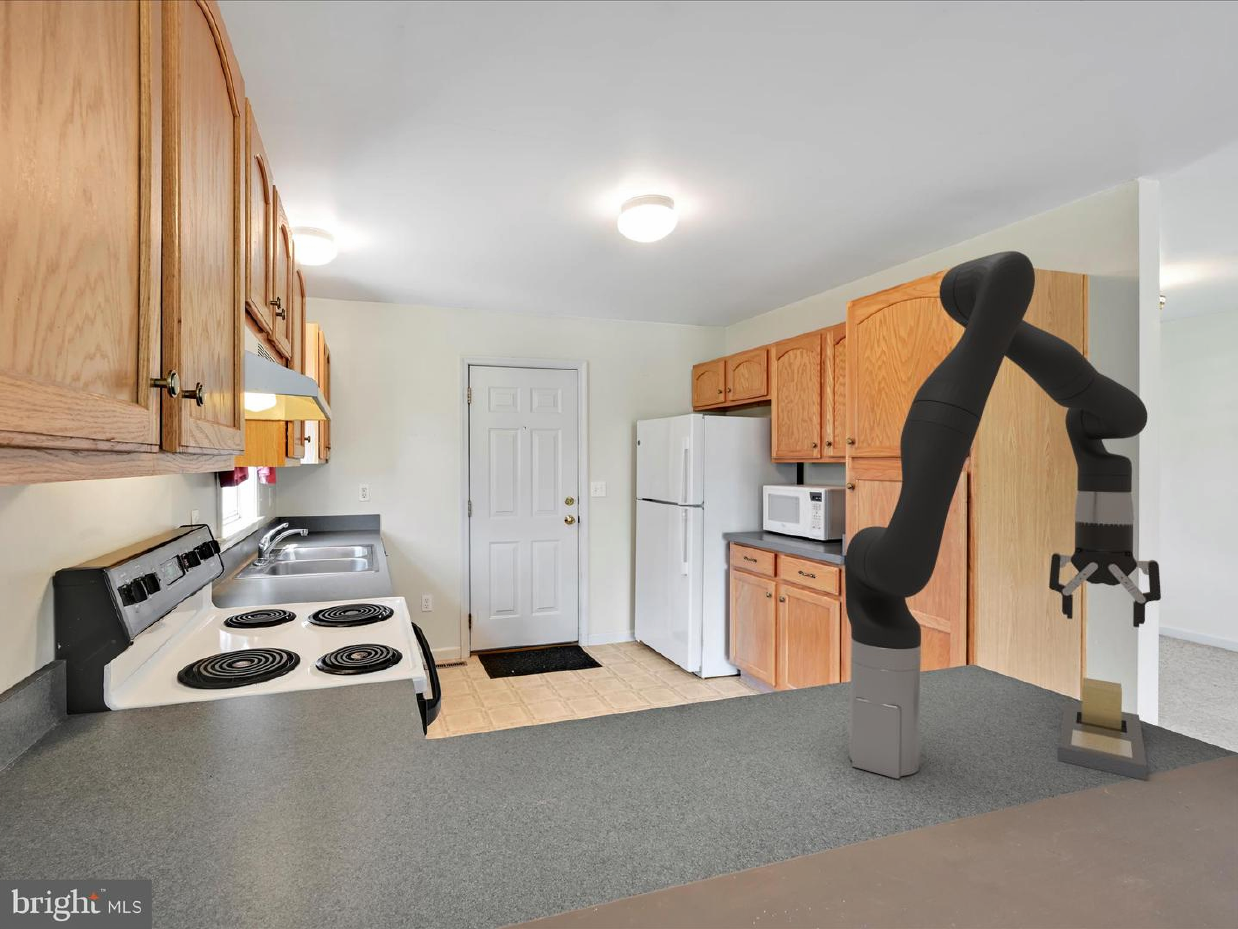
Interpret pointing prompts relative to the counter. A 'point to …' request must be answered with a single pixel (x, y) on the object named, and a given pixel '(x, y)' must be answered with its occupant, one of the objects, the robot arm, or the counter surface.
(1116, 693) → the yellow wooden block
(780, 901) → the counter surface
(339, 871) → the counter surface
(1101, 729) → the grey slotted holder
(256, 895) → the counter surface
